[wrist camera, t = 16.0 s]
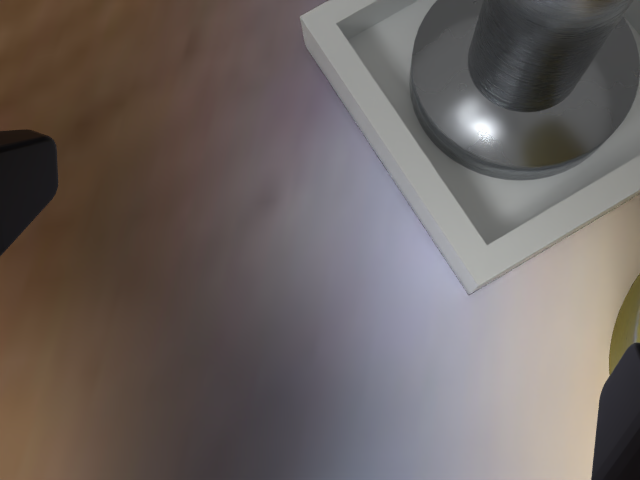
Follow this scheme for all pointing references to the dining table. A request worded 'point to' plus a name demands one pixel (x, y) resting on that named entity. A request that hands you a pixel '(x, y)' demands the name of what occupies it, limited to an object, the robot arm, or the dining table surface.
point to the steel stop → (523, 82)
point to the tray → (444, 173)
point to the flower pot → (626, 325)
